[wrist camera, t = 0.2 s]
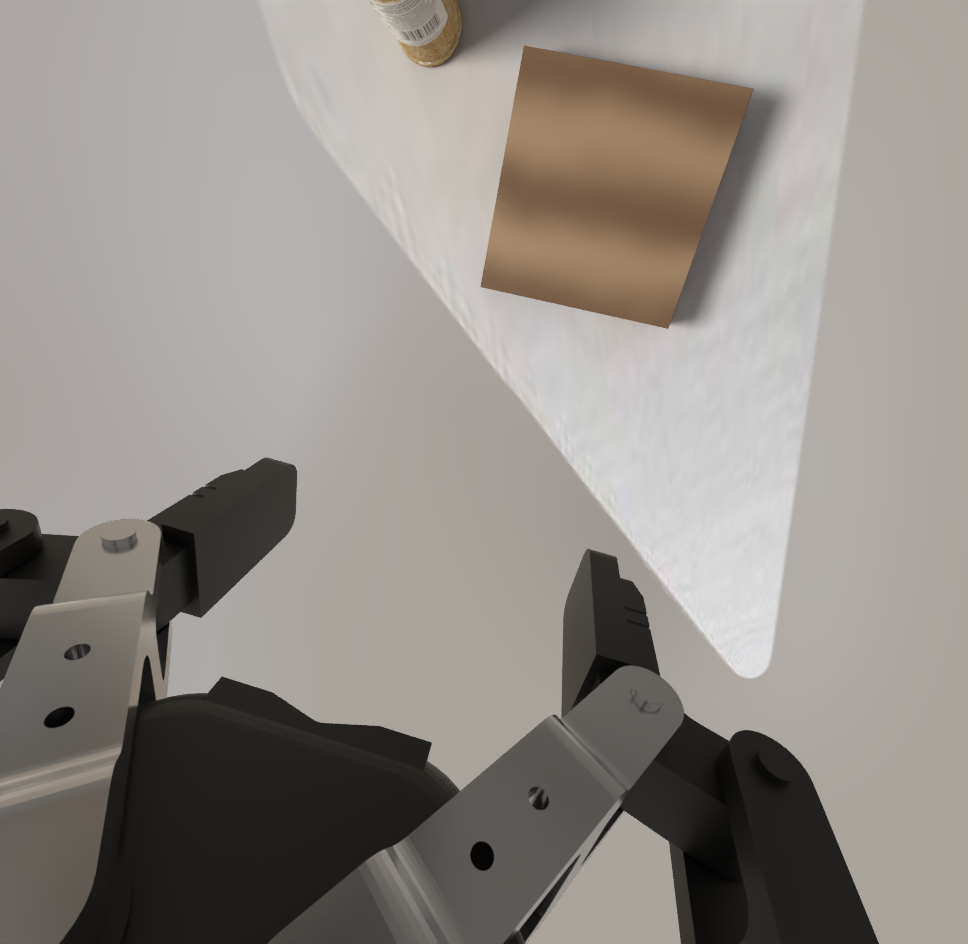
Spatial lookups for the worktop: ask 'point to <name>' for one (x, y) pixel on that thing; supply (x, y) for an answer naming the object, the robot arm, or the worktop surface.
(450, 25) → the spice jar
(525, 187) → the walnut base
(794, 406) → the worktop surface
